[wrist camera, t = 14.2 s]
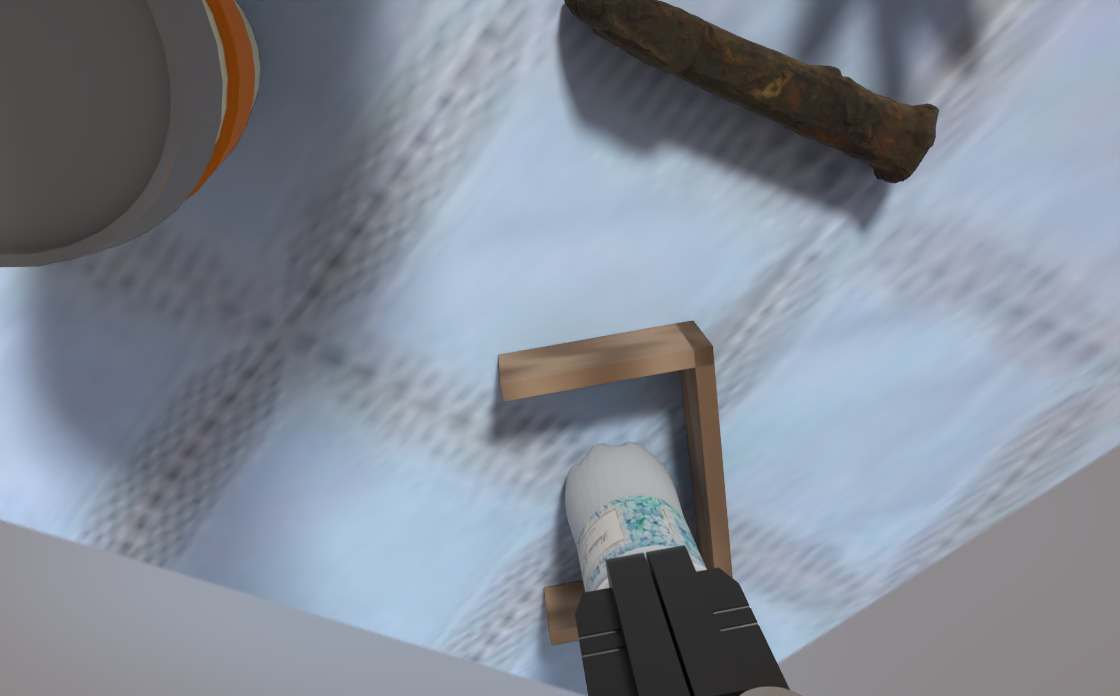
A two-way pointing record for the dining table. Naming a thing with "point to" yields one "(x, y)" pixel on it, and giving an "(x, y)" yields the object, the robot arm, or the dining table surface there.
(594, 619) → the robot arm
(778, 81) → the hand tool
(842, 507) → the dining table surface
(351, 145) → the dining table surface
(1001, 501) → the dining table surface
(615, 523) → the bottle
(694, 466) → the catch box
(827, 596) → the dining table surface
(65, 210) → the reusable coffee cup
